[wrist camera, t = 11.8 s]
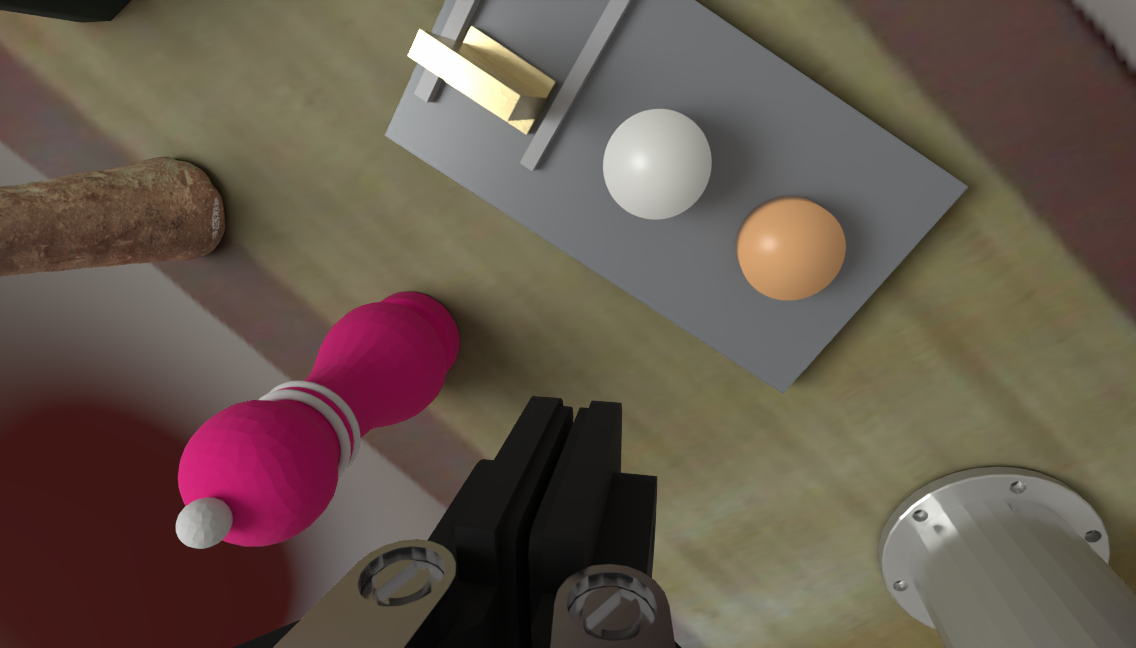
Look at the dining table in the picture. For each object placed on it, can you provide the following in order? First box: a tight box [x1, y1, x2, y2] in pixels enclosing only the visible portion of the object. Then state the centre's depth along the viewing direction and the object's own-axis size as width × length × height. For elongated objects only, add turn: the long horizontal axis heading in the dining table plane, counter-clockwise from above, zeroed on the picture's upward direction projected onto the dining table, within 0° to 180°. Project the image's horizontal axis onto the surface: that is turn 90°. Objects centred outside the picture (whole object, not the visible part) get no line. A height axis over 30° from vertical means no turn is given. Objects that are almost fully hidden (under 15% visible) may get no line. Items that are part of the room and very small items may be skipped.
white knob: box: [603, 109, 712, 220], centre depth 28 cm, size 5×5×2 cm
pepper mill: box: [176, 292, 460, 549], centre depth 30 cm, size 7×7×20 cm
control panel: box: [385, 0, 968, 393], centre depth 32 cm, size 27×14×3 cm, turn 59°
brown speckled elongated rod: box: [0, 157, 225, 276], centre depth 31 cm, size 6×18×6 cm
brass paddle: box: [408, 26, 558, 135], centre depth 28 cm, size 5×3×6 cm, turn 59°
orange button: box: [736, 196, 846, 301], centre depth 30 cm, size 5×5×2 cm
